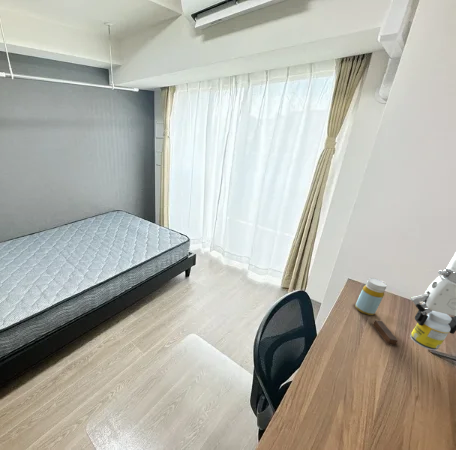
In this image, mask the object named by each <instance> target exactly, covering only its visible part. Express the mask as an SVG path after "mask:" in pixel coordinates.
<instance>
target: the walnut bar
mask: <svg viewBox="0 0 456 450" xmlns="http://www.w3.org/2000/svg"><path fill="white" fill-rule="evenodd" d="M372 325H373V327H374V328H375V330H376V331H377V332H378V333H379V335H380V336H381V338H382V339H383V340H384V341H385V343H387V344H386V345H392V346H396V345H397V343H398V342H399V340H398V339H397V338H396V336H395V335H394V333H393V332H392V331H391V330H390V329H389V328H388V326H387V325H386V324H385V323H384V322H383V321H382V320H379V319H374V321H373V323H372Z"/></svg>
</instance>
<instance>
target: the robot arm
mask: <svg viewBox="0 0 456 450" xmlns="http://www.w3.org/2000/svg"><path fill="white" fill-rule="evenodd" d="M437 273H438V276H437V277H436V278H435V279H434V280H433V281H432V282H431V283H430V284H429V286H428V287H427V289H426V290H425V291H424V293H423V294H419V295H415V296H412V297H410V300H411V302H412V303H413V305H414V306H415V307H416V308H417V312H416V314H415V316H414V320H415V322H416V324H417V323H418V324H419V325H421V326H422V325H424V323H425V321H426V320H427V318H428V313H430V312H431V311H436V312H440V313H444V314H447V315H449V316H450V317H451V318H452V320H451V322H450V323H449V326H450V328H451V330H450V332H449V334H452V335H453V334H455V333H456V251H455V252H454V253H453V255H452V258H451V259H450V261H449V263H448V264H447V266H446V267H445V268H444V269H439V270H438V272H437ZM421 302H423V303H421Z"/></svg>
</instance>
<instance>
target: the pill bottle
mask: <svg viewBox="0 0 456 450" xmlns="http://www.w3.org/2000/svg"><path fill="white" fill-rule="evenodd" d="M427 315H428V318H427V320H426V321H425V323H424V325H422V326H421V325H419V324H418V323H417V322H416V325H415V326H414V328H413V329H412V331H411V333H410V339H411V341H413V343H415V344H417V345H418V346H420V347H421V348H424V349H427V350H430V351H436V350H438V349H439V348H440V347H441V345H442V344H443V342H444V341H445V339H446V338H447V336H448V334H450V330H451V328H450V326H449V323H450V322H451V320H452V318H451V317H452V316H451V315H449V314H444V313H440V312H436V311H431V312H430V313H428V314H427Z"/></svg>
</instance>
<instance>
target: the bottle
mask: <svg viewBox="0 0 456 450" xmlns="http://www.w3.org/2000/svg"><path fill="white" fill-rule="evenodd" d="M387 287H388V284H387V283H386V282H385V281H383V280H381V279H378V278H375V277H369V278H367V281H366V284H365V285H364V286H363V287H362V289H361V291H360V293H359V296H358V298H357V300H356V302H355V305H354V306H355V309H356V310H357V311H358V312H360V313H361V314H364V315H367V316H373V315H375V314H376V312H377V311H378V308H379V306H380V304H381V302H382V300H383V298H384V296H385V291H386V289H387Z"/></svg>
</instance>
